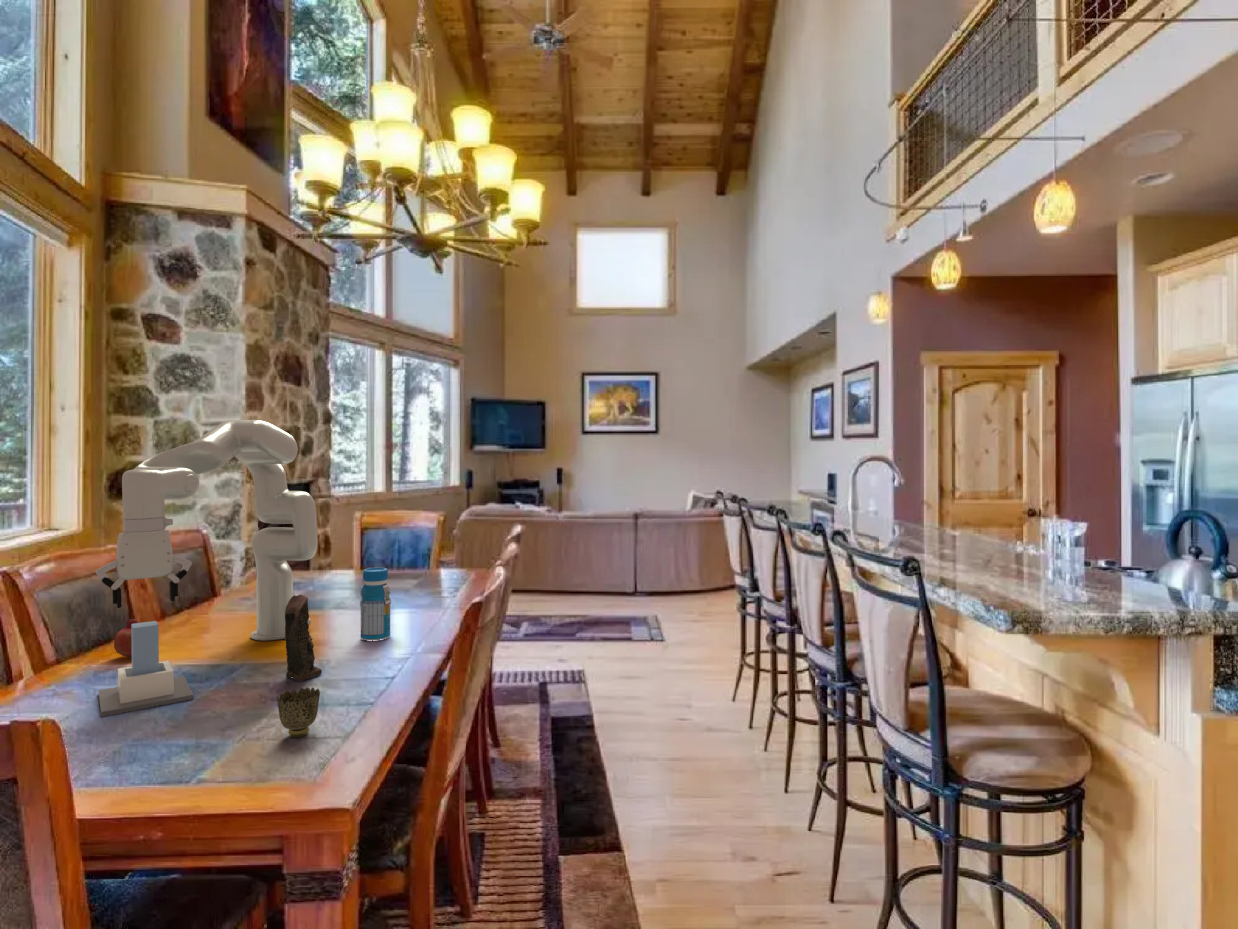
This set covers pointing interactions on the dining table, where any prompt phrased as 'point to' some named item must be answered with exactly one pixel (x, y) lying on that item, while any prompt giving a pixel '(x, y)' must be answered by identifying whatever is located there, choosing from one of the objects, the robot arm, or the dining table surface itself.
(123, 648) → the fruit
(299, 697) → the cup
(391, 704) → the dining table surface
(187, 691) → the well
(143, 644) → the post
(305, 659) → the statue
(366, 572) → the beverage bottle
